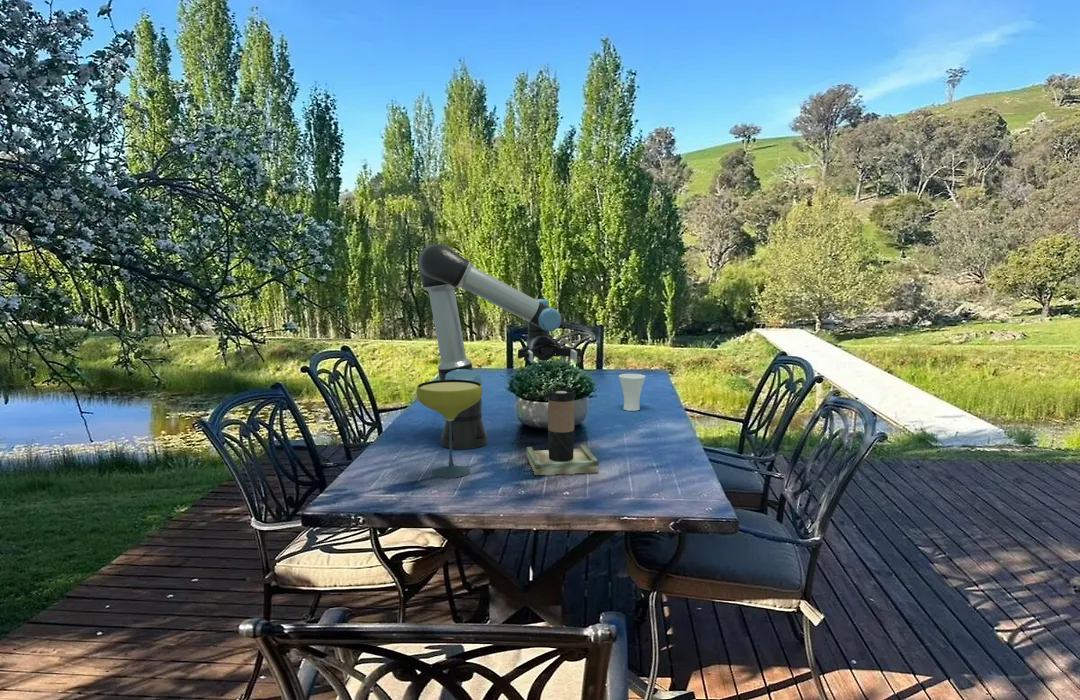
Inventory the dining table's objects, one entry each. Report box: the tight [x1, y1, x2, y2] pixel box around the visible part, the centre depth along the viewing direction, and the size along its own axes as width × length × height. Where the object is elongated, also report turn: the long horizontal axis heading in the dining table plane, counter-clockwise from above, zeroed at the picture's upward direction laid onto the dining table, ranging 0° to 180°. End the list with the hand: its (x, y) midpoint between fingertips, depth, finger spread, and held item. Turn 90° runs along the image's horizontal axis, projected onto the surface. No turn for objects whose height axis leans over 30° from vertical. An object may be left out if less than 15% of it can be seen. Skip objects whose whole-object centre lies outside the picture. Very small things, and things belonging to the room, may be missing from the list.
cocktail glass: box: [416, 379, 483, 479], centre depth 193 cm, size 18×18×25 cm
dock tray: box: [526, 444, 600, 476], centre depth 201 cm, size 18×18×3 cm
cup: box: [618, 373, 646, 412], centre depth 273 cm, size 10×10×14 cm
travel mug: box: [547, 387, 575, 462], centre depth 199 cm, size 8×8×20 cm
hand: (554, 357), depth 209 cm, fingers open, 13 cm apart
